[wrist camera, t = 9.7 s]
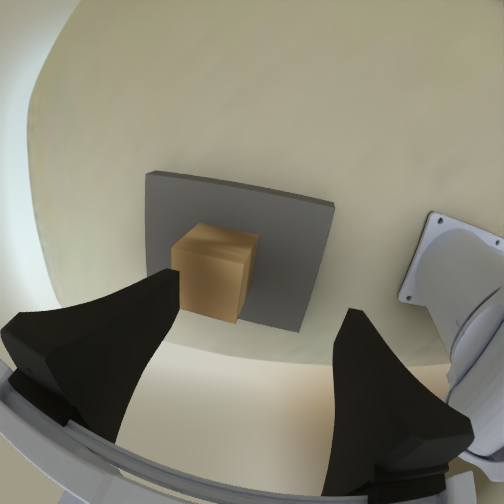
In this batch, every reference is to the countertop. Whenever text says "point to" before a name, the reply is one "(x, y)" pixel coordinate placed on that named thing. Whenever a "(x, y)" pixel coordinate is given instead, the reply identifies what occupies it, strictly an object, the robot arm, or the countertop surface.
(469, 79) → the countertop surface
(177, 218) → the charcoal mat
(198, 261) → the oak cube
